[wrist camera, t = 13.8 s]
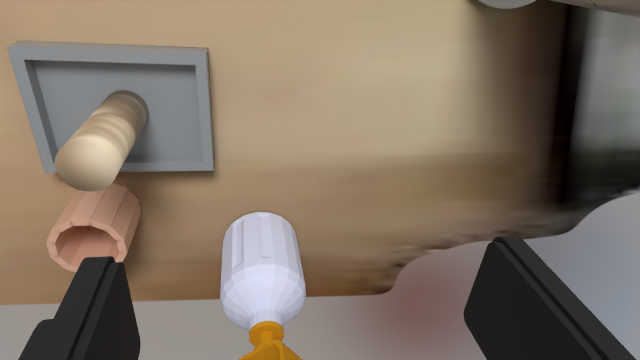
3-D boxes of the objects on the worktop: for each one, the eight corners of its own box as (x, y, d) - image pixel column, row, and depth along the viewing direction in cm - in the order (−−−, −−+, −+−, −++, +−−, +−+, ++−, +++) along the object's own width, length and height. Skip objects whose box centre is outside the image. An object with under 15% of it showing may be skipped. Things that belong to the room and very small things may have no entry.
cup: (135, 181, 44) (119, 218, 38) (144, 231, 48) (130, 272, 42) (66, 182, 43) (38, 221, 37) (80, 233, 46) (57, 276, 40)
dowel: (145, 90, 38) (111, 142, 28) (150, 129, 40) (120, 191, 30) (100, 89, 38) (48, 142, 28) (107, 129, 40) (61, 192, 29)
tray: (207, 48, 38) (206, 54, 36) (214, 159, 44) (213, 170, 42) (20, 40, 36) (6, 46, 33) (54, 161, 41) (44, 172, 39)
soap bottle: (208, 235, 49) (185, 450, 29) (269, 197, 48) (291, 392, 27) (252, 276, 54) (259, 487, 33) (308, 242, 53) (353, 439, 32)
